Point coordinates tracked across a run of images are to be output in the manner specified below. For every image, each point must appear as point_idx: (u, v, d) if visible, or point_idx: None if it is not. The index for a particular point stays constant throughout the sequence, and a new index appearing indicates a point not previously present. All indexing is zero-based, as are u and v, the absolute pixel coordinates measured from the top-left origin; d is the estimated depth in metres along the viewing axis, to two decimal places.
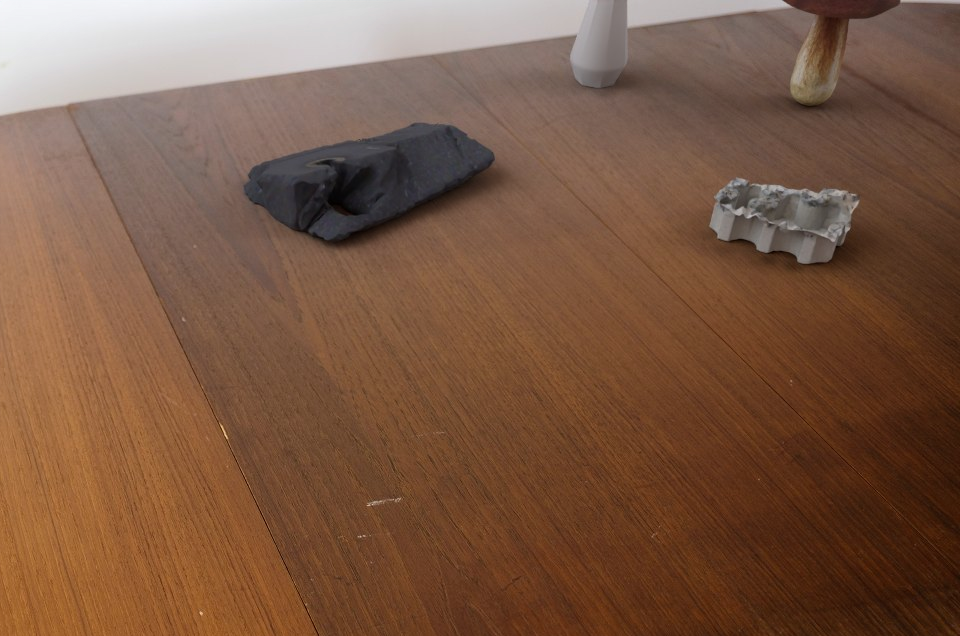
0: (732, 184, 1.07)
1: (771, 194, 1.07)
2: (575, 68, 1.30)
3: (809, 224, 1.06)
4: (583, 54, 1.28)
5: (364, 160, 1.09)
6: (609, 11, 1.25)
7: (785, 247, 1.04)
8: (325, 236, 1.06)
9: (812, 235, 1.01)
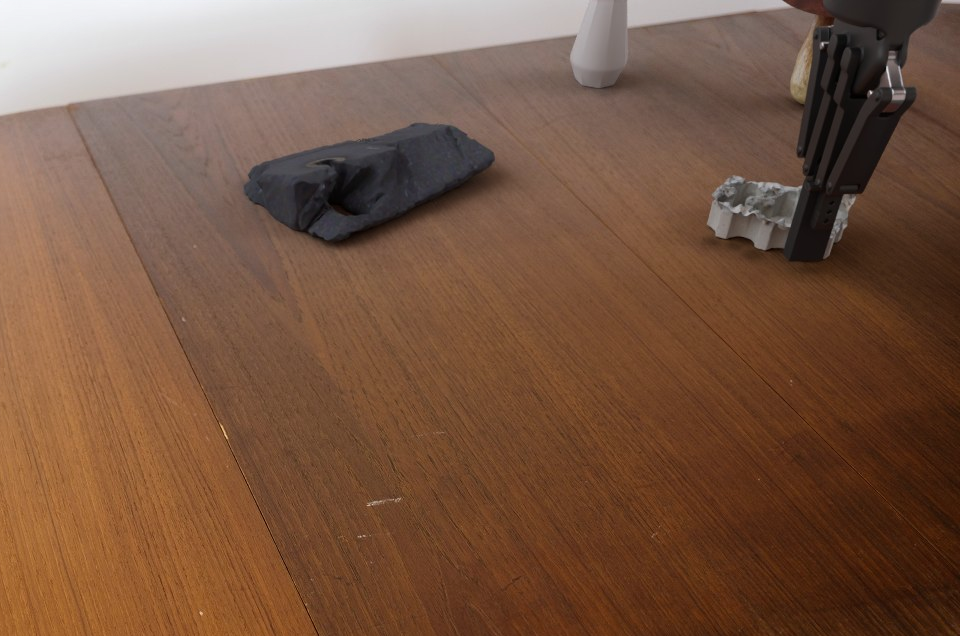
0: (729, 182, 1.07)
1: (768, 191, 1.07)
2: (575, 68, 1.30)
3: None
4: (583, 54, 1.28)
5: (364, 160, 1.09)
6: (609, 11, 1.25)
7: (783, 244, 1.04)
8: (325, 236, 1.06)
9: None
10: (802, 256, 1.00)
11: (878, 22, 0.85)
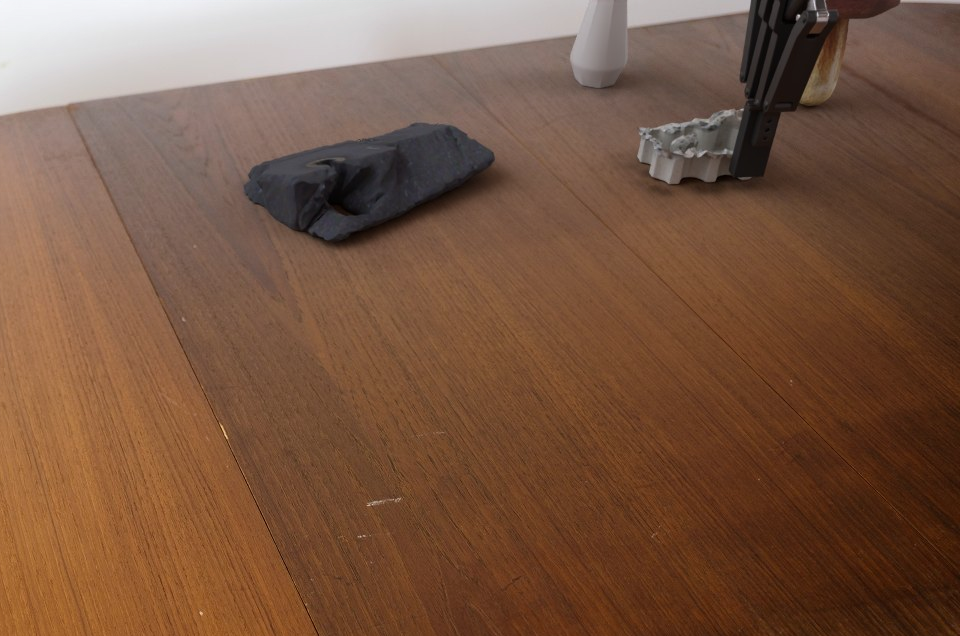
0: (648, 134, 1.15)
1: (675, 132, 1.16)
2: (575, 68, 1.30)
3: (710, 147, 1.18)
4: (583, 54, 1.28)
5: (364, 160, 1.09)
6: (609, 11, 1.25)
7: (722, 171, 1.14)
8: (325, 236, 1.06)
9: None
10: (745, 173, 1.11)
11: None
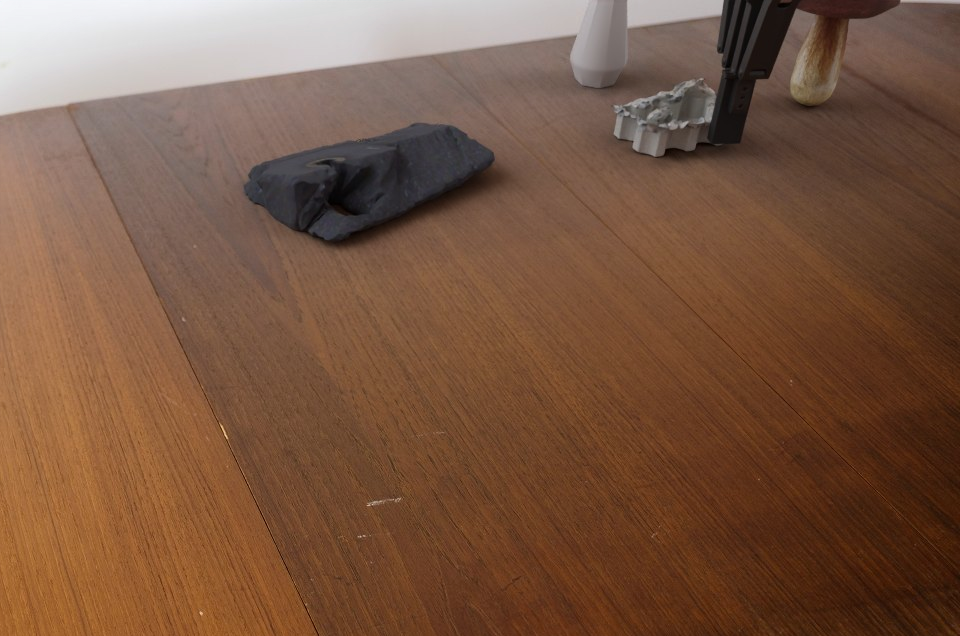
0: (626, 111, 1.19)
1: (646, 107, 1.21)
2: (575, 68, 1.30)
3: (676, 117, 1.23)
4: (583, 54, 1.28)
5: (364, 160, 1.09)
6: (609, 11, 1.25)
7: (697, 139, 1.19)
8: (325, 236, 1.06)
9: None
10: (722, 139, 1.16)
11: None
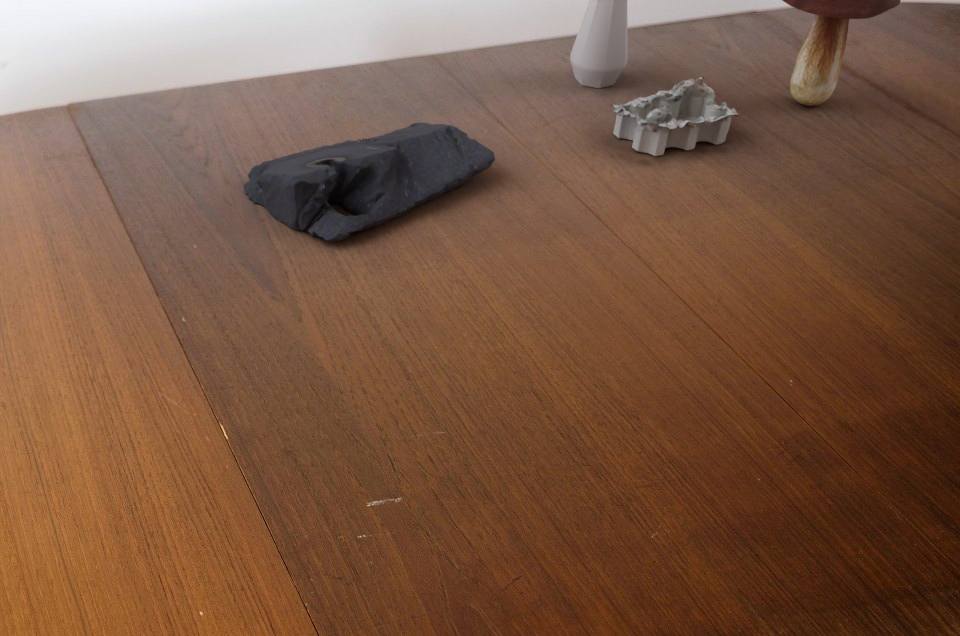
0: (626, 110, 1.19)
1: (646, 106, 1.21)
2: (575, 68, 1.30)
3: (675, 116, 1.23)
4: (583, 54, 1.28)
5: (364, 160, 1.09)
6: (609, 11, 1.25)
7: (697, 138, 1.20)
8: (325, 236, 1.06)
9: (726, 117, 1.18)
10: None
11: None
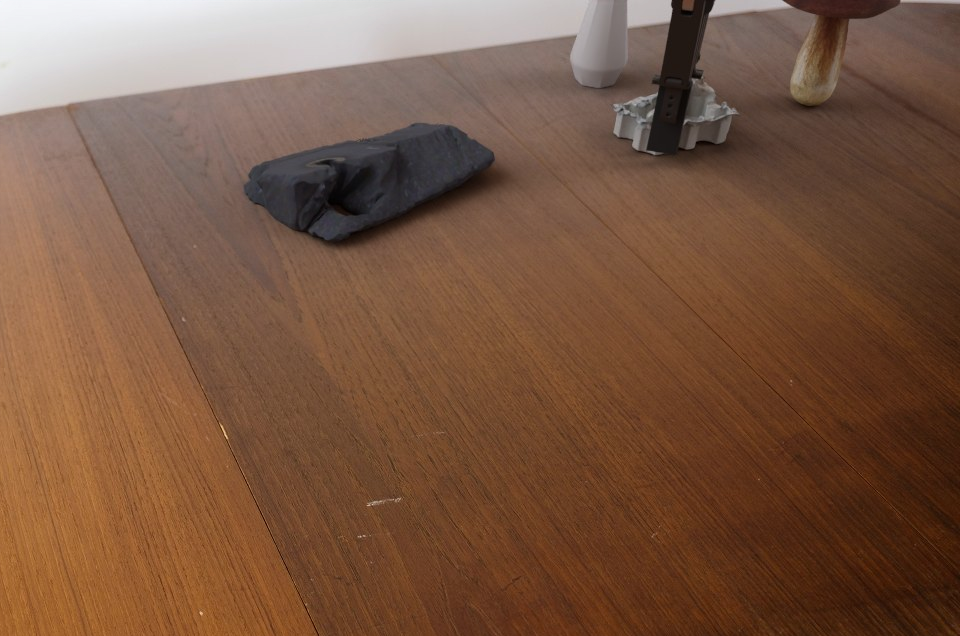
0: (626, 109, 1.19)
1: (646, 105, 1.21)
2: (575, 68, 1.30)
3: None
4: (583, 54, 1.28)
5: (364, 160, 1.09)
6: (609, 11, 1.25)
7: (697, 138, 1.20)
8: (325, 236, 1.06)
9: (726, 117, 1.18)
10: (657, 147, 1.15)
11: None
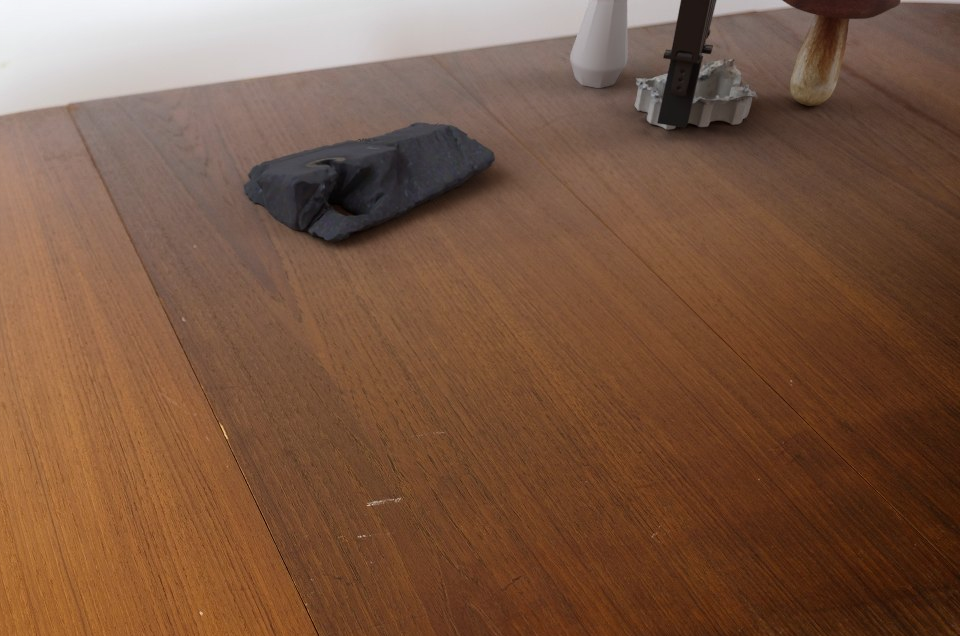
0: (645, 83, 1.23)
1: None
2: (575, 68, 1.30)
3: (701, 96, 1.26)
4: (583, 54, 1.28)
5: (364, 160, 1.09)
6: (609, 11, 1.25)
7: (714, 117, 1.23)
8: (325, 236, 1.06)
9: (743, 98, 1.21)
10: (668, 120, 1.19)
11: None
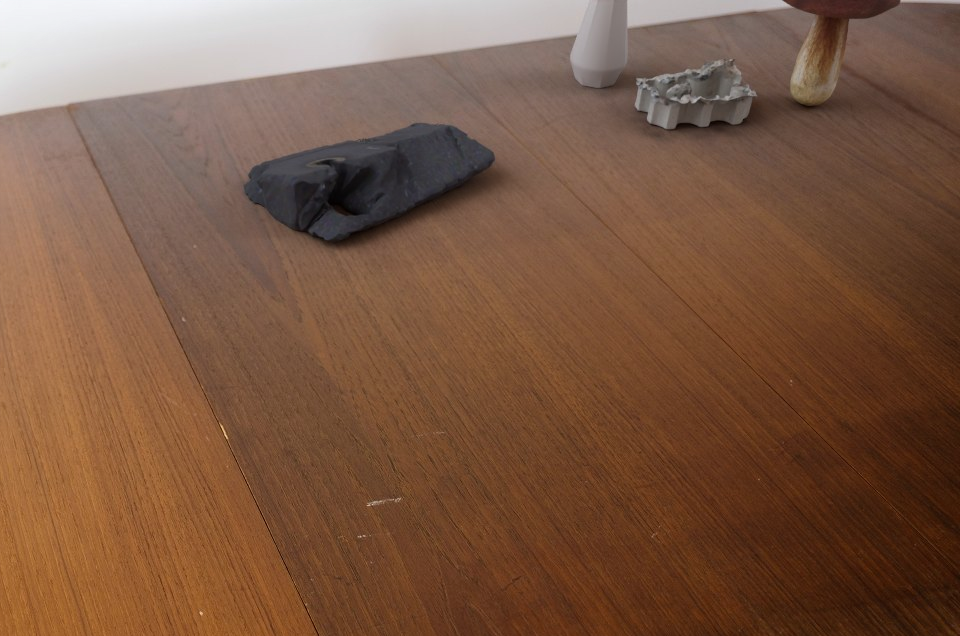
0: (645, 83, 1.23)
1: (670, 82, 1.25)
2: (575, 68, 1.30)
3: (701, 96, 1.26)
4: (583, 54, 1.28)
5: (364, 160, 1.09)
6: (609, 11, 1.25)
7: (714, 117, 1.23)
8: (325, 236, 1.06)
9: (743, 98, 1.21)
10: None
11: None
